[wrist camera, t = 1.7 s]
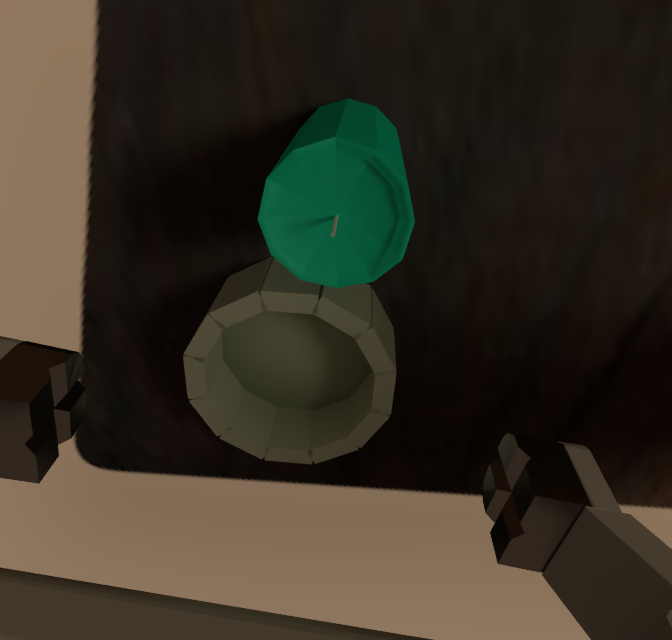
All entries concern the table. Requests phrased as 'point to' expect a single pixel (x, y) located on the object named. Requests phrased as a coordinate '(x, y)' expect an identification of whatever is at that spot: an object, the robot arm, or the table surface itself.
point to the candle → (339, 198)
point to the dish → (292, 365)
